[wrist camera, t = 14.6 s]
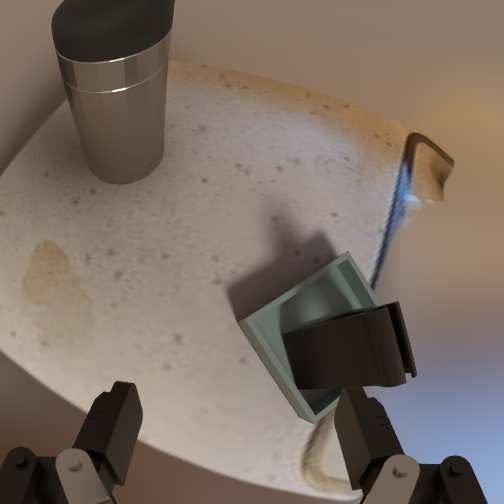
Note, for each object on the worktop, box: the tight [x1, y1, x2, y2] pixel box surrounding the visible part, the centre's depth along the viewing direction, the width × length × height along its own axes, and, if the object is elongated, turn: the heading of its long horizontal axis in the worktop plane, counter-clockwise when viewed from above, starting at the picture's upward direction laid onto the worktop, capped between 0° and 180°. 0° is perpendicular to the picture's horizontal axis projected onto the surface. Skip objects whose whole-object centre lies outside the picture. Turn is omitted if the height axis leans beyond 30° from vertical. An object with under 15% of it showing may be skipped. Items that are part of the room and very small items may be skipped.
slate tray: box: [237, 251, 381, 424], centre depth 31 cm, size 12×13×4 cm
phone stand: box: [282, 301, 417, 390], centre depth 26 cm, size 9×6×12 cm, turn 106°
